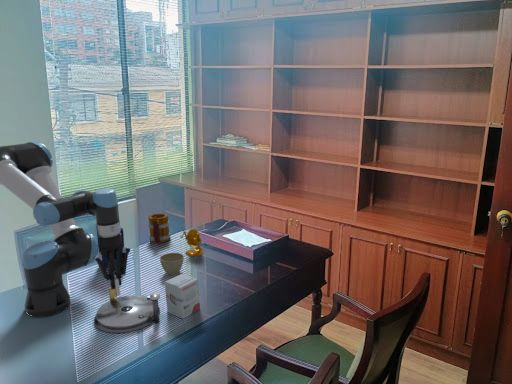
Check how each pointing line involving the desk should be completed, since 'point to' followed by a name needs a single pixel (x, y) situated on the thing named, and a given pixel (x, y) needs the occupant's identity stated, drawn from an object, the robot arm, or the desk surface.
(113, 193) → the robot arm
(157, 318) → the turntable base
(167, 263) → the flower pot
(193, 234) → the figurine
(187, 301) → the ink box
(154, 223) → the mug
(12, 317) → the desk surface
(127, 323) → the turntable
